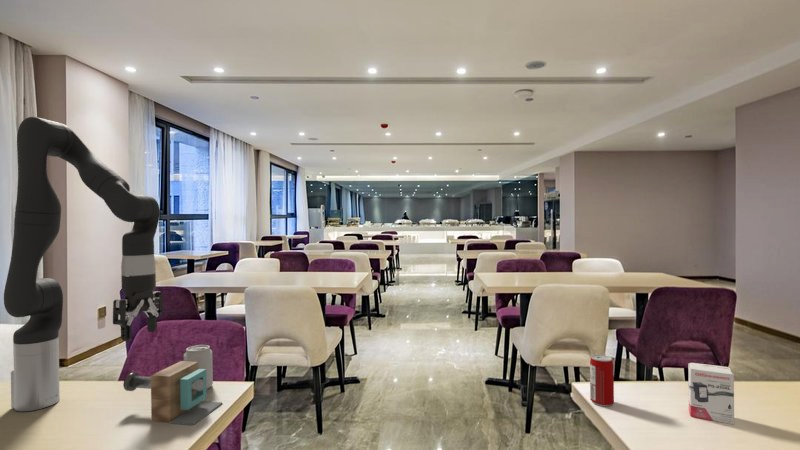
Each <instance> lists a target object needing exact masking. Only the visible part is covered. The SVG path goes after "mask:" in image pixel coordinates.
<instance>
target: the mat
mask: <svg viewBox="0 0 800 450" xmlns="http://www.w3.org/2000/svg"><path fill="white" fill-rule="evenodd" d="M222 405H223V402H221V401H218V402H217V401H205V400H202V401H201V402H199V403H198V404H197V405H195V406H194V407H192V408H191V409H189V410H188V411H186V412H185V413H183V414H182V415H180V416H179V417H177V418H176V419H174V420H173V421H171V422H170V424H173V425H174V424H175V425H187V426H194V425H196V424H197V423H198V422H200V421H201V420H202V419H204V418H205V417H208V415H209V414H211V413H212V412H213V411H215V410H217V409H218V408H219V407H221V406H222Z"/></svg>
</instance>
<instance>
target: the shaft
mask: <svg viewBox="0 0 800 450" xmlns="http://www.w3.org/2000/svg"><path fill="white" fill-rule="evenodd" d="M191 384H192V391H199V392H200V391H202V390H203V388H204V380H200V379H198V380H196V381H194V382H193V383H191ZM123 389H124V391H127V392H133V391H136V390H137V389H148V390H149V389H150V390H151V376H142V375H141V376H140V374H139V373H138V372H130V373H128V374H127V375H126V376H125V378H124V380H123Z"/></svg>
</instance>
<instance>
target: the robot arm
mask: <svg viewBox="0 0 800 450" xmlns="http://www.w3.org/2000/svg"><path fill="white" fill-rule="evenodd" d="M16 152H17V155H16V156H17V188H16V189H17V191H16V202H15V203H16V204H15V209H14V219H13V220H14V221H13V223H14V224H13V237H12V238H13V239H12V247H11V248H12V249H11V256H10V264H9V267H8V271H7V276H6V282H5V285H4V286H5V287H4V291H3V305H4V309H5V311H6V313H8V315H10V316H11V317H13V318H25V317H29V318H28V320H27V322H25V324H24V325H22V326H21V327H20V328H18V329H16V330H15V331H14V333H13V337H12V341H13V342H12V343H13V345H12V346H13V350H12V352H13V370H12V371H11V372H10V403H11V404H10V405H11V406H10V407H11V409H14V410H15V411H16V412H32V411H37V410H41V409H44V408H48V407H51V406H53V405H54V404H57V403H58V402H60V350H59V349H60V347H59V346H60V344H59V335H60V334H59V333H60V329H61V327H62V323H63V311H64V310H63V309H64V308H63V307H64V305H63V304H64V293H63V288H62V286H61V285H60V283H59V282H58V281H57V280H56V279H54V278H51V277H42V278H38V268H39V265H40V263H41V261H42V259H43V257H44V255H45V254H46V253H47V251H48V249H49V248H50V247H51V246H52V244H53V243H54V241H55V239H56V237H57V236H58V234H59V232H60V228H61V220H62V219H61V217H62V214H61V213H62V205H61V202H60V200H59V197H58V195H57V193H56V191H55V189H54V187H53V185H52V183H51V182H50V178H49V176H48V170H47V168H48V167H47V165H48V164H47V163H48V156H49V157H55V158H56V157H57V158H60V159H62V160H63V161H66V162H68V163H69V164H71V166H73V167H74V168H75V169H76V170H77V172H78V175H79V178H80V179H81V181H82V183H83V184H84V185H85V186H86V187H87V188H89V190H91V192H93V193H94V194H96V195H97V196H98V197H99V198H101V199H102V200H103V201H104V203H105V205H106V206H107V207H108V208H109V210H110V211H111V213H112V214H113V216H115V217H116V218H117V219H119V220H120V221H123V222H125V223H133V225H132V229H131V230H130V231H129V232H126V233H124V234H123V235H122V238H121V255H122V256H121V263H120V264H121V266H120V269H121V270H120V271H121V273H120V274H121V276H120V277H121V292H122V293H124V298H123V299H114V300H113V302H112V303H113V305H112V324H113V325H115V326H117V325H118V326H120V338H121V341H123V342H126V341H127V342H129V341H132V339H133V333H132V332H133V331H132V330H133V327H132V325H131V324H132V322H133V321H134V319H135V318H136V317H137V316H138V314H140V313H145V315H146V316H147V318H146V327H147V329H146V330H147V332H148V333H155V332H157V329H158V317H159V315H160V314H163V313H164V304H163V303H164V302H163V301H164V300H163V292H162V291H158V290H157V291H155V290H156V289H157V283H156V282H157V281H156V280H157V274H156V273H157V272H156V271H157V270H156V266H157V265H156V259H155V241H154V240H155V235H156V232H157V229H158V225H159V220H160V216H161V210H160V209H161V208H160V205H159V203H158V201H157V200H156V199H155V197H152V196H150V195H144V194H134V193H132V192H131V190H130V189H131V188H130V185H129V183H128V181H126V180H125V179H124V178H123V177H121V175H119V174H118V173H116V171H114V170H113V169H112V168H110V167H109V166H107V164H105V163H104V162H103V161H102V160H101V159H99V157H98V156H96V154H95V153H93V151H92V150H91V149H90V148H89V147H88V146H87V144H85V143H84V142H83V140H82V139H81V138H80V137H79V135H77V133H76V132H75V131H74V130H72V128H71V127H70V126H68V125H66V124H64V123H61V122H57V121H55V120H49V119H46V118H41V117H38V116H29V117H26V118H24V119H23V120H22V121H21V123H20V124H19V126H18V129H17V134H16Z"/></svg>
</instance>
